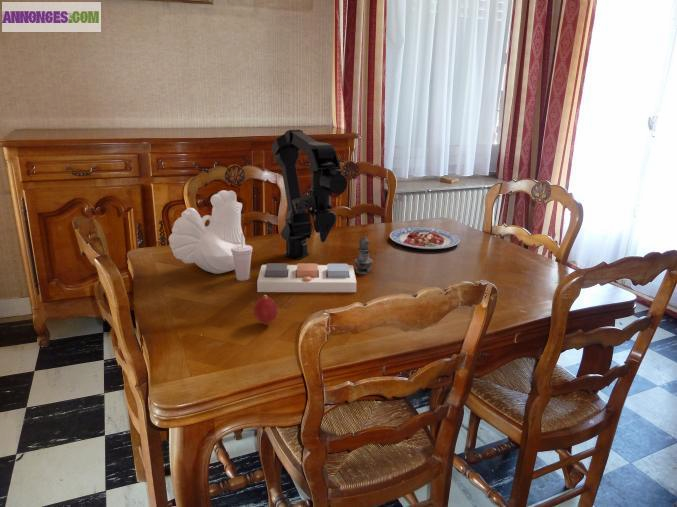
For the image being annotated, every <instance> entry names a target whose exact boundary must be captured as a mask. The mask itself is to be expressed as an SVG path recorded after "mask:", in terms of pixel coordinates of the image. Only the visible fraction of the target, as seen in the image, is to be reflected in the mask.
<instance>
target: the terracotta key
mask: <svg viewBox="0 0 677 507" xmlns="http://www.w3.org/2000/svg"><path fill="white" fill-rule="evenodd" d="M296 265H297V278H303V277H306V276H308V277H311V278H318V265H319V264H318V263H311V262H310V263H308V262H307V263H299V262H298V263H297V264H296Z"/></svg>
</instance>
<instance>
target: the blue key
mask: <svg viewBox="0 0 677 507" xmlns="http://www.w3.org/2000/svg"><path fill="white" fill-rule="evenodd" d="M326 265H327V275H328V278H349V269H348V265H349V264H348V263H327V264H326Z"/></svg>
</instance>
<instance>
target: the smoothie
mask: <svg viewBox="0 0 677 507" xmlns="http://www.w3.org/2000/svg"><path fill="white" fill-rule="evenodd" d="M243 235H244V232H243V233H241V242H242V245H236V246H233V247H231V252H232V255H233V260H234V266H235V269H234V272H235V278H236V280H237V281H241V282H242V281H247V280H249V279H250V272H251V265H252V264H251V263H252V262H251V261H252V260H251V259H252V252H253V249H254V248H253V246H252V245H249V244H245V245H243Z"/></svg>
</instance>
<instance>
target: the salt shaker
mask: <svg viewBox="0 0 677 507" xmlns="http://www.w3.org/2000/svg"><path fill="white" fill-rule="evenodd" d="M369 246H370V239H369V238H368V237H366V235H365V234H364V235H363V237H362V238H360V239H359V248H358V257H356V258H355V259H354V264H355V267H356V268H355V269H354V273H356V272H357V274H358V273H360V274H359V275H369V274H371V273H372V269H370V268H371V267H372V263H373V262H374V261H373V259H372V258H370V256H369V255H370V254H369V252H370V248H369ZM368 273H369V274H368Z"/></svg>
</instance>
